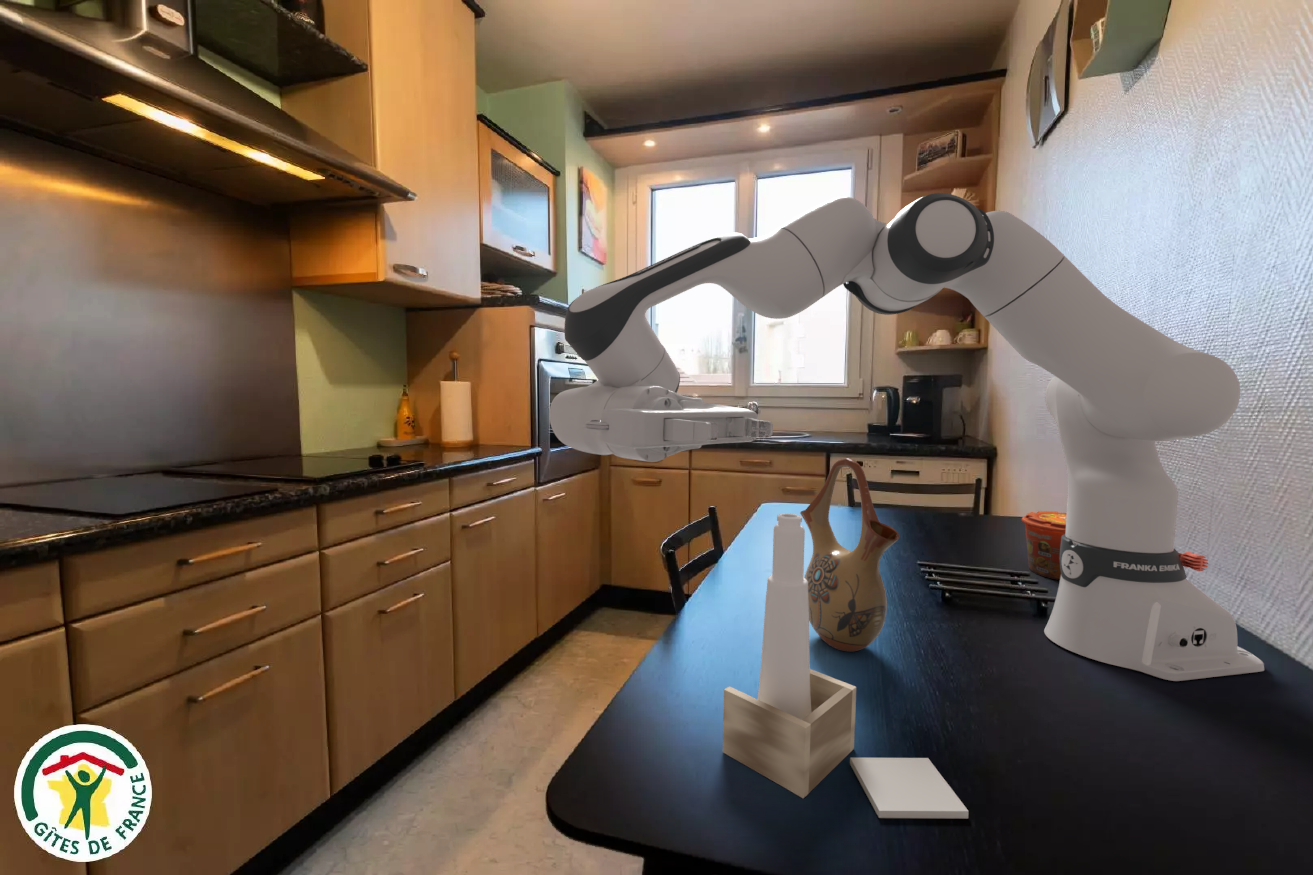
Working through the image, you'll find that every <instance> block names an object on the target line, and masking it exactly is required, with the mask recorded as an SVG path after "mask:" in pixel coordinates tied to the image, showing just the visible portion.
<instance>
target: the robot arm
mask: <svg viewBox="0 0 1313 875" xmlns="http://www.w3.org/2000/svg"><path fill="white" fill-rule="evenodd" d="M866 206H867V205H865V204H864V203H862V202H861V201H859V200H858V199H856V198H853V197H849V196H837V197H833V198H831V199H829V200H827V201H824V202H822V203H820V204H818V205H816V206H814V207H811V208H810V209H808V210H806V211H804V212H802V213H800V214H798V215H797V216H794V217H793V218H792V219H790V220H788V221H786V222H785V223H784V224H782V225H781V226H779V227H777V228H776V229H774V230H773V231H771V232H769V233H768V234H764V235H762V236H757V237H753V238H749V237H747V236H745V235H744V234H743V233H740V232H731V233H730V232H729V233H725V234H720V235H717V236H715V237H712V238H709V239H707V240H704V241H702V242H700V243H697V244H695V245H692V246H689V247H688V248H685V249H683V250H681V251H679V252H677V253H675V254H672V255H670V256H668V257H665V258H663V259H662V260H659V261H657V262H655V263H653V264H651V265H649V266H648V265H647V266H646V267H644V268H643V269H640V270H636V271H635V272H633V273H630V274H629V275H627V276H624V277H621V278H618V279H615V280H612V281H609V282H607V283H604V284H601V285H598V286H596V287H593V288H591V289H589V290H586V291H585V292H582V293H581V294H580V295H579V296H578V297H576V298H574V299H573V300H572V302H570V304H569V305H568V306H567V309H566V313H565V319H564V330H563V331H564V332H563V333H564V340H565V342H567V343H568V345H569V346H570V347H571V349H572V350H574V351H575V353H576V354H577V355H578V356H579V358H581V359H582V360H583V361H584V362H585V363H586V365H587V366H588V367H589V369H590V371H591V372H592V373H593V374H594V376H595V377H596V378H597V381H594V382H593V383H591V384H589V385H587V386H581V387H580V386H579V387H575V388H569V389H566V390H563V391H561V392H559V393H558V394H557V395H556V396H554V398H553V399H552V401H551V403H550V406H549V414H548V417H549V424H550V426H551V429H552V432H553V434H554V435H555V437H556V438H557V439H558V441H560V442H561V443H562V444H564V445H565V446H567V447H568V448H572V449H574V450H575V451H580V452H584V453H586V454H587V453H588V454H593V455H599V456H600V455H601V456H608V455H614V456H616V457H618V458H622V459H628V460H636V461H643V462H648V463H656V462H660V461H662V460H663V461H664V460H665V459H666V458H667V457H670V456H673V455H676V454H678V453H680V452H681V453H682V452H687V451H692V450H696V449H701V448H702V446H706V445H716V444H718V445H719V444H734V443H737V444H738V443H750V442H754V441H755V440H756V439H757V438H761V439H763V438H764V439H765V438H768V439H769V438H771V437H772V436H773V433H774V432H773V431H774V430H773V429H774V427H773V426H774V424H773V422H772V421H771V420H762V419H760V420H759V419H758V414H757V412H755V411H754V410H752V409H748V408H743V407H736V406H730V405H722V404H718V403H717V404H716V403H709V402H704V399H703V398H701V397H697V396H688V395H684V394H679V393H678V390H679V387H680V384H681V383H680V382H681V374H680V371H679V370H678V368H677V366H676V364H675V363H674V361H673V359H672V358H671V356H670V355H669V352H668V351H667V350H666V348H665V347H664V345H663V344H662V342H661V341H660V339H659V338H658V336H657V334H656V333H655V331H654V329H653V328H652V326H651V324H650V323H649V321H648V320H647V318H646V312H648V310H649V309H650V308H653V307H655V306H656V305H659V304H661V303H662V302H665V301H667V300H670V299H671V298H673V297H676V296H679V295H680V294H683V293H685V292H687V291H689V290H691V289H693V288H695V287H698V286H700V285H704V284H714V285H718V286H720V287H721V288H722V289H724V290H725V291H727V292H728V293H729V294H730V295H731V296H732V297H733V298H734V299H735V300H737V301H739V303H740V304H742V305H743V306H744V307H746V308H747V309H749V310H750V311H751V312H753V313H755V314H757V315H759V316H760V317H765V318H768V319H776V320H778V319H779V320H780V319H781V320H782V319H788V318H790V317H793V316H795V315H797V314H799V313H801V312H803V311H805V310H806V309H808V308H809V307H811V306H812V305H815V303H817V302H819V300H820V299H823V297H825V296H827V295H828V294H830V293H831V292H832V291H833V290H835V289H837V288H838V287H840V286H843V287H844V288H845V290H847V291H848V292H850V293H851V294H852V295H853V296H855V297H856V299H857V300H858V301H859V302H860V304H862V306H864V307H866V308H867V309H868V310H870V311H871V312H873V313H876V314H878V315H885V316H886V315H887V316H890V315H897V314H901V313H906V312H908V311H910V310H912V309H914V308H915V307H917V306H918V305H920V304H922V303H923V302H926V301H928V300H930V299H931V298H932V297H935V295H937V294H939V293H940V292H941V291H942V290H943V288H945V289H950V290H952V291H955V292H956V293H959V294H961V295H962V296H964V297H965V298H967V299H968V300H969V302H970V303H971V304H972V305H973V307H974V308H976V310H977V311H978V312H979V313H980V314H981V316H983V317H984V318H985V320H987V321H988V322H989V324H990V325H991V326H992V327H993V328H994V329H995V330H996V331H997V332H998V333H999V334H1000V335H1001V336H1002V337H1003V338H1004V339H1005V341H1007V343H1008V344H1010V346H1011V347H1012V348H1014V350H1015V351H1016V352H1017V353H1018V354H1019V355H1020V356H1021V357H1022V358H1023V359H1024V360H1026V361H1028V362H1029V363H1032V364H1034V365H1037V366H1038V367H1040V368H1042V369H1043V370H1045V371H1047V372H1048V373H1050V374H1051V375H1053V377H1052V378H1051V379H1050V381H1049V382H1048V384H1047V387H1046V390H1045V394H1044V395H1045V396H1044V400H1045V401H1044V402H1045V406H1046V408H1047V410H1048V413H1049V414H1050V415H1051V417H1052V418H1053V420H1054V422H1055V424H1056V427H1057V429H1058V434H1059V438H1060V443H1061V448H1062V452H1063V458H1064V461H1065V462H1064V463H1065V467H1066V476H1067V477H1066V478H1067V499H1066V513H1067V515H1066V532H1065V534H1064V535H1062V537H1061V546H1060V558H1059V559H1060V570H1061V578H1060V580H1059V584H1058V588H1057V592H1056V596H1055V600H1054V604H1053V606H1052V607H1053V608H1052V610H1051V613H1050V616H1049V619H1048V621H1047V624H1046V625H1045V628H1044V630H1043V632H1044V635H1045V636H1046V637H1047V638H1048V639H1049V640H1050V641H1051V642H1053V643H1055V644H1056V645H1058V646H1060V647H1061V648H1063V649H1065V650H1068V651H1070V652H1072V653H1075V654H1078V655H1080V656H1083V657H1084V658H1085V657H1086V658H1088V659H1092V660H1095V661H1096V662H1097V661H1098V662H1101V663H1105V664H1108V665H1113V666H1117V667H1121V668H1125V669H1129V670H1133V671H1137V672H1141V673H1144V674H1146V675H1149V676H1153V677H1156V678H1159V679H1163V680H1166V681H1167V680H1168V681H1170V682H1171V681H1173V682H1180V681H1181V682H1183V681H1190V680H1198V679H1206V678H1213V677H1214V678H1215V677H1216V678H1217V677H1224V676H1225V677H1226V676H1234V675H1242V674H1243V675H1244V674H1249V673H1250V674H1252V673H1258V672H1260V673H1261V672H1264V671H1265V663H1264V662H1263V660H1262V659H1260V658H1259V657H1257V656H1256V655H1254V654H1253V653H1252V652H1250V651H1248V650H1246V649H1244V648H1243V647H1241V646H1238V630H1237V629H1238V628H1237V624H1236V621H1235V619H1234V617H1233V615H1232V613H1230V612H1229V611H1228V610H1227V609H1226V608H1225V607H1223V606H1222V605H1221V604H1219V603H1218V602H1216V600H1214V599H1212V597H1210V596H1208V595H1207V594H1206V593H1205V592H1203V591H1202V590H1201V589H1200V588H1198V587H1197V586H1196V585H1195V584H1194V583H1192V582H1191V581H1189V580H1188V578H1187V574H1186V571H1185V568H1190V569H1192V570H1194V571H1195V572H1203V571H1205V570H1206V568H1208V567H1209V566H1208V565H1209V560H1208V559H1207V557H1206V556H1205V555H1201V554H1197V553H1196V554H1195V553H1193V552H1191V551H1185V552H1183V553H1181V552H1179V551H1178V550H1177V549H1175V537H1176V528H1177V527H1176V524H1177V512H1178V500H1179V492H1178V488H1177V485H1176V483H1175V482H1174V481H1173V479H1172V477H1170V476H1169V474H1168V473H1167V472H1166V471H1165V468H1164V467H1163V465H1162V462H1161V459H1160V457H1159V454H1158V450H1157V446H1156V442H1169V441H1176V440H1183V439H1188V438H1194V437H1199V436H1203V435H1204V436H1205V435H1206V434H1209V433H1212V432H1214V431H1216V430H1218V429H1219V428H1220V427H1223V426H1224V424H1226V423H1228V421H1229V420H1230V419H1231V418H1232V416H1233V415H1234V414H1235V412H1236V410H1237V408H1238V406H1239V402H1240V399H1241V387H1240V386H1241V385H1240V381H1239V379H1238V377H1237V374H1236V372H1235V371H1234V370H1233V369H1232V367H1231V366H1230V365H1229V364H1228V363H1227V362H1225V361H1224V360H1223V359H1221V358H1219V357H1217V356H1216V355H1212V354H1210V353H1207V352H1203V351H1200V350H1197V349H1194V348H1191V347H1189V346H1186V345H1184V344H1182V343H1180V342H1177V341H1176V340H1174V339H1172V338H1170V337H1168V336H1167V335H1166V334H1164V333H1162V332H1161V331H1159V330H1157V329H1155V328H1154V327H1153V326H1150V325H1149V324H1148V323H1146V322H1144V321H1142V320H1141V319H1139V318H1137V317H1136V316H1135V315H1133V314H1131V313H1130V312H1128V311H1127V310H1125V309H1124V308H1122V307H1120V306H1119V305H1118V304H1116V303H1115V302H1114V301H1112V300H1111V299H1110V298H1108V297H1107V296H1106V295H1105V294H1104V293H1103V292H1102V291H1101V290H1099V288H1098V287H1097V286H1096V285H1095V284H1093V283H1092V281H1091V280H1089V278H1087V276H1085V274H1083V272H1081V270H1080V269H1079V268H1077V267H1076V265H1075V264H1074V263H1073V262H1072V261H1071V260H1069V259H1068V257H1067V256H1066V255H1064V253H1062V251H1060V249H1059V248H1057V247H1056V245H1054V244H1053V243H1052V242H1051V241H1050V240H1049V239H1047V237H1045V236H1044V235H1042V234H1041V233H1040V232H1039V231H1037V230H1036V229H1035V228H1033V227H1032V226H1031V225H1030V224H1028V223H1026V222H1025V221H1023V220H1022V219H1020V218H1018V217H1017V216H1015V215H1014V214H1012V213H1010V212H1009V211H1005V210H992V211H988V212H985V211H984V210H983V209H980V208H977V207H976V206H975V205H974V204H972V202H970V201H968V200H967V199H964V198H963V197H960V196H957V195H955V194H951V193H946V192H945V193H944V192H935V193H934V192H933V193H930V194H927V195H924V196H922V197H919V198H917V199H916V200H914V201H912V202H911V203H909V204H907V205H906V206H904V207H903V208H902V209H901V210H900V211H899V212H898V213H897V214H896V215H895V217H894V218H893V219H892V220H891V221H890V222H888V223H886V222H882V221H879V220H877V219H876V218H875V217H874V216H873V214H872V212H871V211H870V209H869V208H867V207H866Z"/></svg>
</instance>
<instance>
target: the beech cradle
mask: <svg viewBox="0 0 1313 875" xmlns="http://www.w3.org/2000/svg"><path fill="white" fill-rule="evenodd" d="M810 695H811V711H812V713H810V714H809V715H808V716H806V717H805V718H804V719H803V720H801V719H799V718H797V717H794V716H792V715H790V714H788V713H786V712H784V711H782V710H779V709H777V708H775V707H773V706H771V705H769V704H766V703H764V702H762V701H760V700H758V698H755V697H754V696H751V695H749V694H747V693H745V692H743V691H742V690H741V691H740V690H739V689H736V688H734V687H732V686H730V685H729V686H727V687H726V688H724V689H723V714H722V715H723V718H722V719H723V720H722V721H723V724H722V726H723V727H722V753H723V754H725V755H726V756H729V757H730V758H732V759H733V760H736V761H737V762H739V763H741V764H742V765H745V766H746V767H748V768H750V769H751V770H752V771H755V772H756V773H759V774H760V775H762V776H763V777H765V778H767V779H769V780H770V781H773V782H774V783H775V784H777V785H779V786H780V787H783V788H784V789H786V790H788V791H789V792H791V793H793V794H794V795H796V796H798V797H800V798H802V799H804V798H805V797H807V796H808V795H809V794H810V793H811V792H812V791H813V790H814V789H815V788H816V787H817V786H818V785H819V784H820V783H821V782H822V781H823V780H824V779H825V778H826V777H827V776H828V775H829V774H830V773H831V772H832V771H833V770H834V769H835V768H836V767H837V766H839V764H840V763H841V762H842V761H843V760H844V759H845V758H846V757H847V756H848V755H849V754H850V753H851V752H852V751H853V750H855V732H856V731H855V728H856V710H857V709H856V705H857V704H856V703H857V686H855V685H854V684H850V683H848V682H844V681H843V680H840V679H837V678H834V677H832V676H829V675H827V674H825V673H822V672H819V671H817V670H814V669H812V668H810Z"/></svg>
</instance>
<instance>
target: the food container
mask: <svg viewBox="0 0 1313 875" xmlns="http://www.w3.org/2000/svg"><path fill="white" fill-rule="evenodd" d="M1066 515H1067V512H1058V511H1052V510H1044V511H1042V510H1040V511H1039V510H1038V511H1037V512H1034V511H1030V512H1028V513H1026V515H1025V516H1022V517H1021V523H1022V524H1023V523H1024V529H1025V530H1024V531H1025V538H1026V549H1027V560H1028V568H1029V570H1030V571H1031V572H1033V573H1034V574H1036V575H1039V576H1040V577H1044V578H1049V579H1053V580H1056V581H1060V578H1061V570H1060V559H1059V558H1060V546H1061V537H1062V535H1064V534H1065V532H1066Z"/></svg>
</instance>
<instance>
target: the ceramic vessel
mask: <svg viewBox="0 0 1313 875" xmlns="http://www.w3.org/2000/svg"><path fill="white" fill-rule="evenodd" d="M843 468H849V469H850V470H852V472H853V473H854V475H855V478H856V482H857V484H858V486H857V487H858V489H859V495H860V503H861V531H860V537H859V541H858V544H857V545H856V546H855V548H854V549H853V550H850V549H847V548H845V547H844V546H842V545H841V544H840V543H839V541H838V540H837V538H836V536H835V534H834V532H833V531H834V530H833V529H832V526H831V523H830V520H829V519H830V508H831V504H832V503H831V502H832V498H833V494H834V489H835V485H836V481H837V479H838V475H839V473H840V471H841V469H843ZM799 514H800V516H801V517H802V520H804V522H805V524H806V526H807V528H808V529H809V532H810V535H811V541H812V555H811V557H810V558H811V559H810V561H809V564H808V566H807V568H806V571H805V572H804V573H805V574H804V576H803V577H804V578H805V579H806V580H807V581H808V601H809V624H810V625H811V627H812V629H813V630H814V631H815V633H816V634H817V636H819V638H821V640H822V641H823V642H825V644H827V645H828V646H830V647H831V648H833V649H835V650H838V651H842V652H848V653H849V652H850V653H851V652H852V653H853V652H859V651H861V650H863V649H865V648H867V647H869V646H870V645H871V644H873V642H875V640H876V639H877V638H878V637H879V635H880V634H881V632H882V630H883V627H884V626H885V622H886V618H887V611H888V601H887V600H888V599H887V592H886V587H885V584H884V582H883V579H882V574H881V571H880V562H881V559H882V556H883V555H884V553H885V552H886V551H887V550H888V549H890V548H891V546H892V545H894V544H896V542H898V540H900V533H899V532H898V531H897V530H896V529H895V528H893V527H892V526H890V525H888V524H885V523H882V522H880V520H879V518H878V515H877V513H876V511H875V508H874V504H873V501H872V496H871V493H870V489H869V485H868V481H867V477H866V473H865V471H864V469H863V468H862V466H861V465H860V464H859V463H858V462H857V461H855V460H854V459H852V458H849V457H846V458H841V459H839V460H837V461H835V462H834V463H833V464H832V466H831V468H830V470H829V473H828V475H827V478H826V480H825V482H824V484H823V486H822V488H821V489H820V491H819V492H818V494H817V495H816V497H815V498H814V499H813V500H812V501H811V503H809V505H808V506H807V507H806V509H804V510H802V511H800V512H799Z"/></svg>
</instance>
